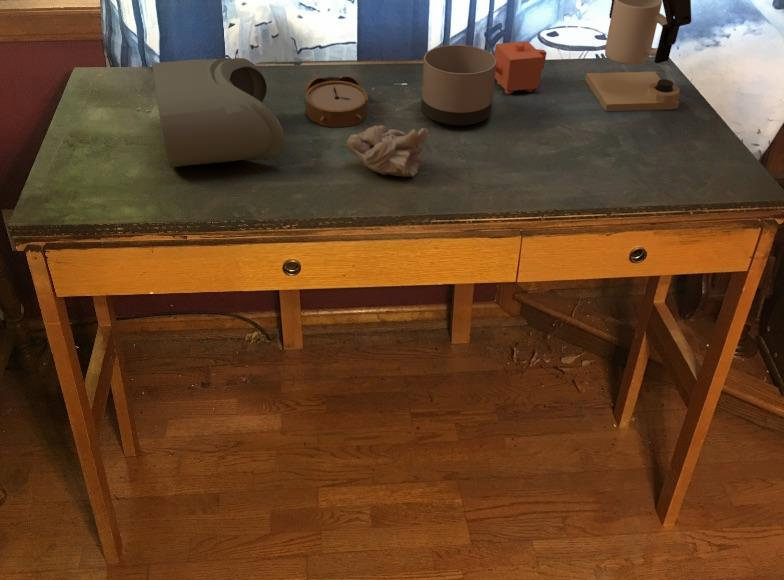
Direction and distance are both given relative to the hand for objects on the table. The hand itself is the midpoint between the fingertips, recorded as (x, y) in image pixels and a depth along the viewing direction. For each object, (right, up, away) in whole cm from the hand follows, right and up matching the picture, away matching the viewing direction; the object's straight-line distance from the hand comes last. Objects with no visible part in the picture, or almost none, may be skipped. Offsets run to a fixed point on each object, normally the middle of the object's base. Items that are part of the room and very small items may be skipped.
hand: (636, 49), depth 158 cm
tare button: (+6, -6, +3) cm, 9 cm away
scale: (+1, -5, +8) cm, 10 cm away
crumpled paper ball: (-46, -26, -15) cm, 55 cm away
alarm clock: (-56, -11, +1) cm, 57 cm away
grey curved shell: (-75, -21, -11) cm, 78 cm away
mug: (0, -2, +1) cm, 2 cm away
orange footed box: (-22, -4, +9) cm, 24 cm away
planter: (-34, -12, 0) cm, 36 cm away
